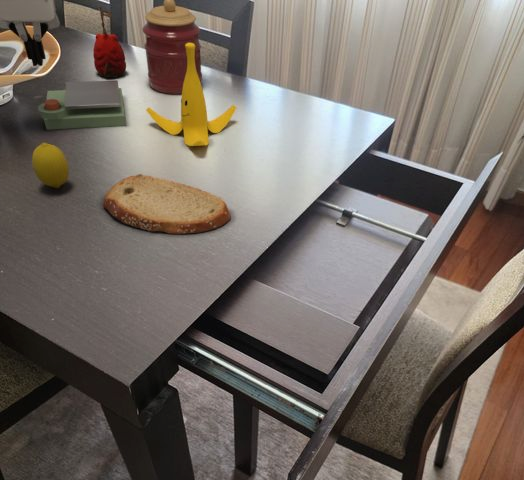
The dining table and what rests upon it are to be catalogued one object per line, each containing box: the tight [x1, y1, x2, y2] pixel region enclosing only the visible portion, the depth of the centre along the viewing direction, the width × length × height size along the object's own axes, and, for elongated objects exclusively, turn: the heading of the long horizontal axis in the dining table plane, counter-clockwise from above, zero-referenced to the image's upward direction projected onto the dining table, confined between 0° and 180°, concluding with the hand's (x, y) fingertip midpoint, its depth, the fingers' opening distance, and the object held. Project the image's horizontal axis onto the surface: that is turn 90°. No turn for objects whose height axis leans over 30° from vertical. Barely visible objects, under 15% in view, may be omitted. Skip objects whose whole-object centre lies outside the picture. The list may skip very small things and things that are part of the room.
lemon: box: [31, 142, 70, 189], centre depth 83 cm, size 6×6×8 cm
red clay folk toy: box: [92, 6, 127, 79], centre depth 116 cm, size 8×7×15 cm
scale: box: [37, 87, 127, 131], centre depth 105 cm, size 17×15×4 cm
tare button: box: [43, 99, 60, 110], centre depth 99 cm, size 3×3×1 cm
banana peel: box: [145, 43, 237, 147], centre depth 97 cm, size 17×19×17 cm
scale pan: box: [65, 79, 121, 109], centre depth 104 cm, size 11×13×1 cm
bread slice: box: [102, 173, 232, 235], centre depth 81 cm, size 18×18×4 cm
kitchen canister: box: [142, 0, 203, 95], centre depth 113 cm, size 13×13×18 cm
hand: (38, 63), depth 92 cm, fingers closed
